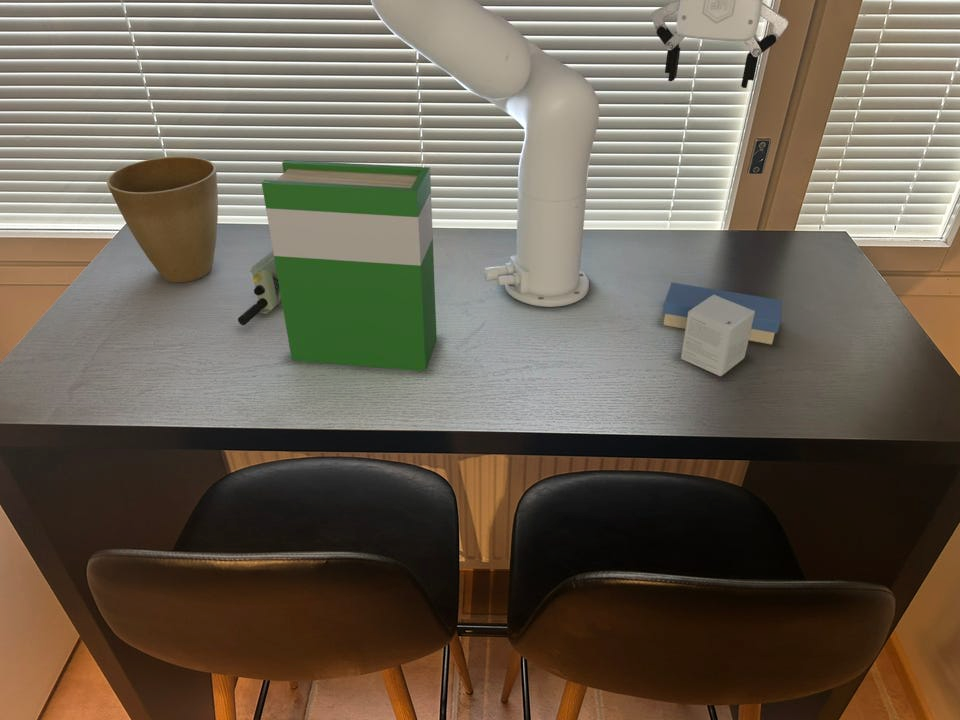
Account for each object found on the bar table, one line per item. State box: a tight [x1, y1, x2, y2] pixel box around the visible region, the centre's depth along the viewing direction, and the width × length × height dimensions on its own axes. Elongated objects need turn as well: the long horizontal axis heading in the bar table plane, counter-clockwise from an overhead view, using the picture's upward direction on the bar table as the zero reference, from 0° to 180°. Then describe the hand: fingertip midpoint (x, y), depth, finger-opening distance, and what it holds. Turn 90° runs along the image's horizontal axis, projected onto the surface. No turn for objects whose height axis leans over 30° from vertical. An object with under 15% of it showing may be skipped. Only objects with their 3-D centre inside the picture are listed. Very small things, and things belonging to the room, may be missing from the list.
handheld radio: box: [237, 250, 282, 326], centre depth 112 cm, size 7×3×25 cm
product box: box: [680, 295, 755, 377], centre depth 96 cm, size 6×6×7 cm
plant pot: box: [106, 155, 219, 283], centre depth 114 cm, size 15×15×16 cm
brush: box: [662, 281, 783, 345], centre depth 104 cm, size 15×6×4 cm, turn 70°
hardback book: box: [261, 159, 438, 372], centre depth 93 cm, size 18×7×24 cm, turn 82°
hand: (707, 82), depth 103 cm, fingers open, 9 cm apart
